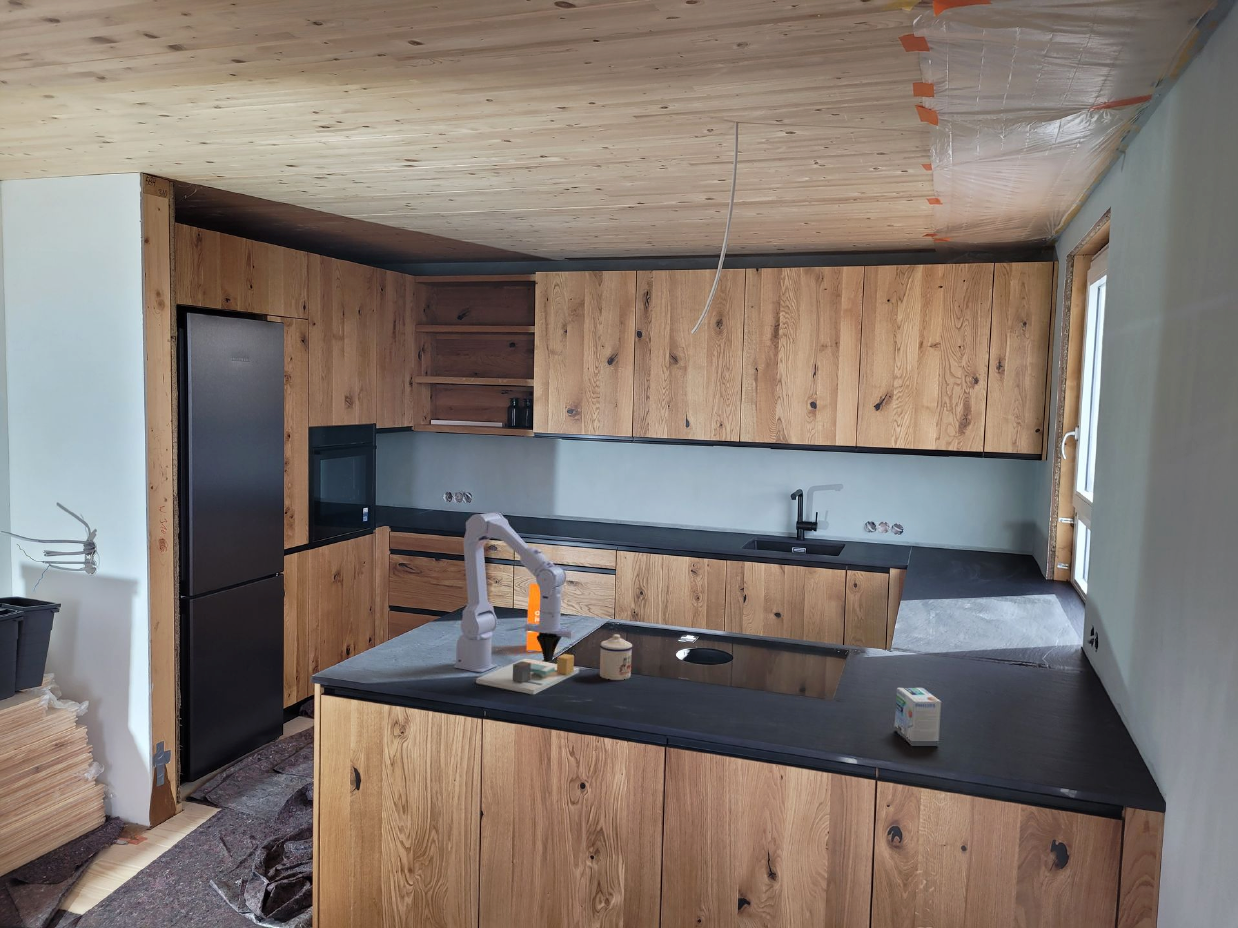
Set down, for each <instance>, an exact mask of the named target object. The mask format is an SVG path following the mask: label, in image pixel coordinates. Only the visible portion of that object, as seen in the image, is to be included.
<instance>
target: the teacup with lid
mask: <svg viewBox="0 0 1238 928" xmlns="http://www.w3.org/2000/svg"><path fill="white" fill-rule="evenodd" d="M599 648H600V655H599V656H600V657H599V658H600V659H599V663H600V664H599V676H600V677H601V678H602V679H604V678H605V680H608V679H610V680H609V681H623V680H624V679H625V680H628V679H629V678H631V674H632V673H631V672H632V650H633V644H632V643H631V642H629V641H627V640H625V639H623V638H621V635H620V634H618V633H617V634H616V633H615V634H613V635H612V637H611V638H609V639H606V640H603V641H601V643H600V644H599Z"/></svg>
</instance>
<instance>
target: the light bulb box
mask: <svg viewBox="0 0 1238 928" xmlns="http://www.w3.org/2000/svg"><path fill="white" fill-rule="evenodd" d="M895 701H896V702H895V715H894V716H895V717H894V727H895V726H896V727H897V728H898V729H899V730H900V731H901V732H902V733H903V734H904V735H905V736H906V737H908V739H910V740H911V741H939V740H940V727H941V726H940V722H941V710H942V709H941V708H942V701H941V700H940V699H938V698H937V697H936V696H934V695H933V694H931V693H930V692H929V691H927V690H926V689H925V688H923V687H897V688H896V699H895Z"/></svg>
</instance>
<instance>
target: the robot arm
mask: <svg viewBox="0 0 1238 928" xmlns="http://www.w3.org/2000/svg"><path fill="white" fill-rule="evenodd" d="M464 533H465V534H464V538H463V541H462V543H463V554H464V555H463V556H464V557H463V558H464V567H465V579H466V591H467V592H466V593H467V605H466V606H465V608H464V609H463V611H462V612H461V613H462V619H461V623H460V630H461V632H462V634H461V635H460V636H459V638H458V639H457V642H456V648H455V649H456V655H455V656H456V657H455V664H454V666H453V667H454V668H455V669H462V670H466V671H471V672H477V673H484V672H487V671H489V670H491V669H494V668H496V667H498V664H496V663H492V645H493V644H492V640H493V639H492V638H493V637H492V636H493V634H494V631H495V630H496V628H497V627H498V617H497V615H496V613H495V610H494V606H493V604H491V602H489V601H488V599H489V598H488V587H487V575H486V563H485V550H484V547H485V545H486V544H487V543H488V542H489V541H490V540H491V539H500V540H501V541H502V542H503V543H504V544H506V545H507V546H508V547H509V548H510V549H511V550H513V552H515V553H516V555H518V556H519V557H520V563H521V564H522V566H523V567H524V568H525V569H526V570H528V572H530V573H531V574H532V575H533V576H534V577H535V580H536V584H538V586H539V589H540V611H539V624H534V623H525V624H524V632H527V631H532V632H537V633H539V635H538V636H537V640H538V642H539V644H540V646H541V649H542V652H541V653H542V657H543V662H548V663H551V662H552V661H553V658H554V655H555V652H556V651H555V649H556V650H557V648H556V646H557V647H558V644H559V643H560V641H561V639H562V638H566V639H568V640H572V639H574V638H575V630H573V629H569V628H565V627H563V626H561V616H562V615H561V614H562V613H561V611H562V610H561V609H562V586H563V585H564V584H565V582H566V580H567V574H566V571H565V570H564V568H563V566H561V565H558V564H556V565H555V564H554V562H552V561H551V560H549V559H548V558H547V557H546V556H545V555H544V554H543V552H542V550H541V549H540V548H537V547H532V546H531V547H530V546H529V545H527V543H526V542H525V540H523V539H522V538H521V537H520V535H519V534H518V533H517V532H516V531H515V530H514V529H513V528H512V527H511V525H510V524H509V521H508V519H507V518H505V517H504V516H503V515H502V513H500V512H498V511H492V512H487V513H480V514H479V513H476V514H474V515H472V516H470V517H469V518H468V519H467V520H466V522H465V532H464ZM554 651H555V652H554Z"/></svg>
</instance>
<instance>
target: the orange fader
mask: <svg viewBox="0 0 1238 928" xmlns="http://www.w3.org/2000/svg"><path fill="white" fill-rule="evenodd" d="M556 658H557V659H556V664H557V673H560V674H566V675H567V674H569V673H571V672H573V671H574V667H575V666H574V665H575V655H573V654H567V653H564V654H561V655H559V656H557V657H556Z"/></svg>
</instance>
